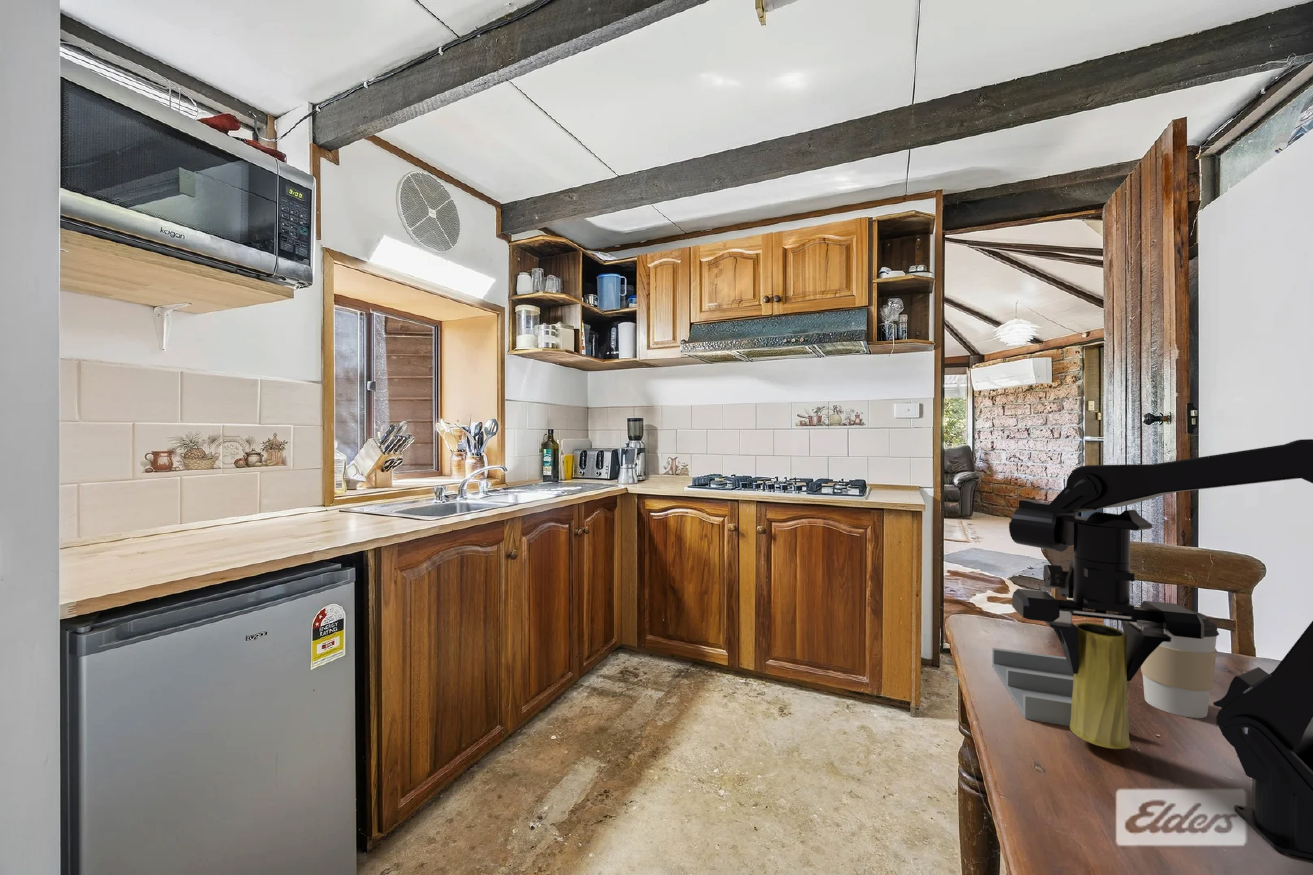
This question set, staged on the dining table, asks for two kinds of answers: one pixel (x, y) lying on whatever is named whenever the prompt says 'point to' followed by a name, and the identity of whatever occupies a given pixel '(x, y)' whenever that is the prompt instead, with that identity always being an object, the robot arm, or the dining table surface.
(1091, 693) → the vase
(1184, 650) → the coffee cup
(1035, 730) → the dining table surface
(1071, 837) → the dining table surface
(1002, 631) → the dining table surface
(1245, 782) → the dining table surface
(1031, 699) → the tiered shelf
